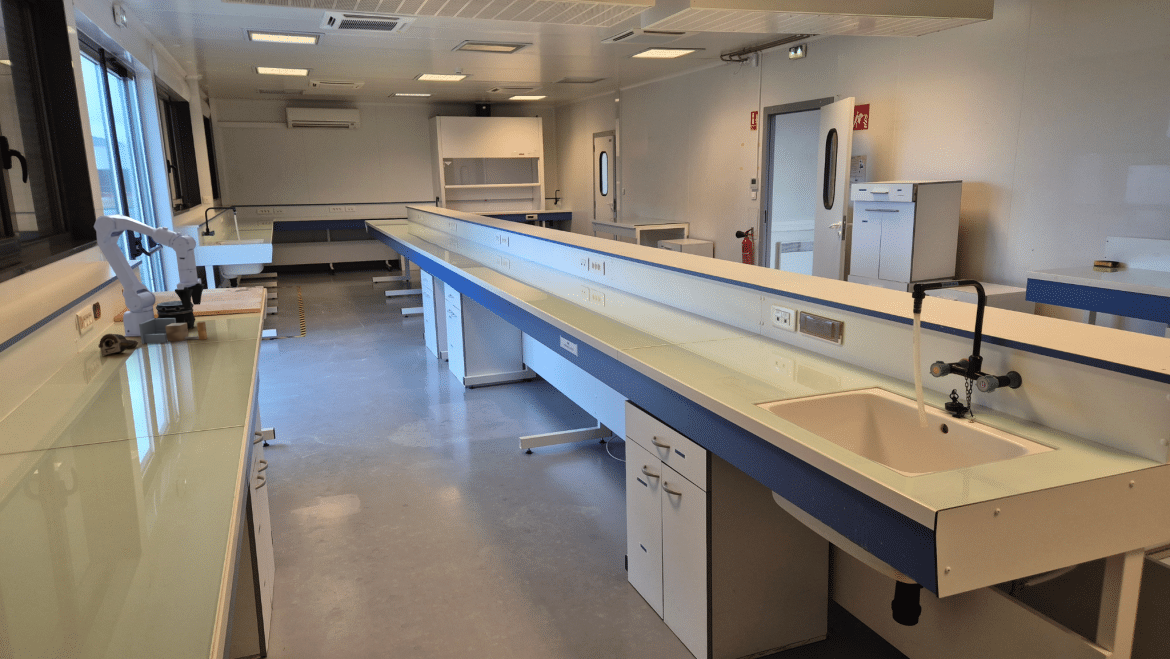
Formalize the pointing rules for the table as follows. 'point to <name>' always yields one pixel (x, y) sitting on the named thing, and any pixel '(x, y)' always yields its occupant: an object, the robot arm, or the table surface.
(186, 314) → the container
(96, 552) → the table surface
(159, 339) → the grey u-shaped cradle
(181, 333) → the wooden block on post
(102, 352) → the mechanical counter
